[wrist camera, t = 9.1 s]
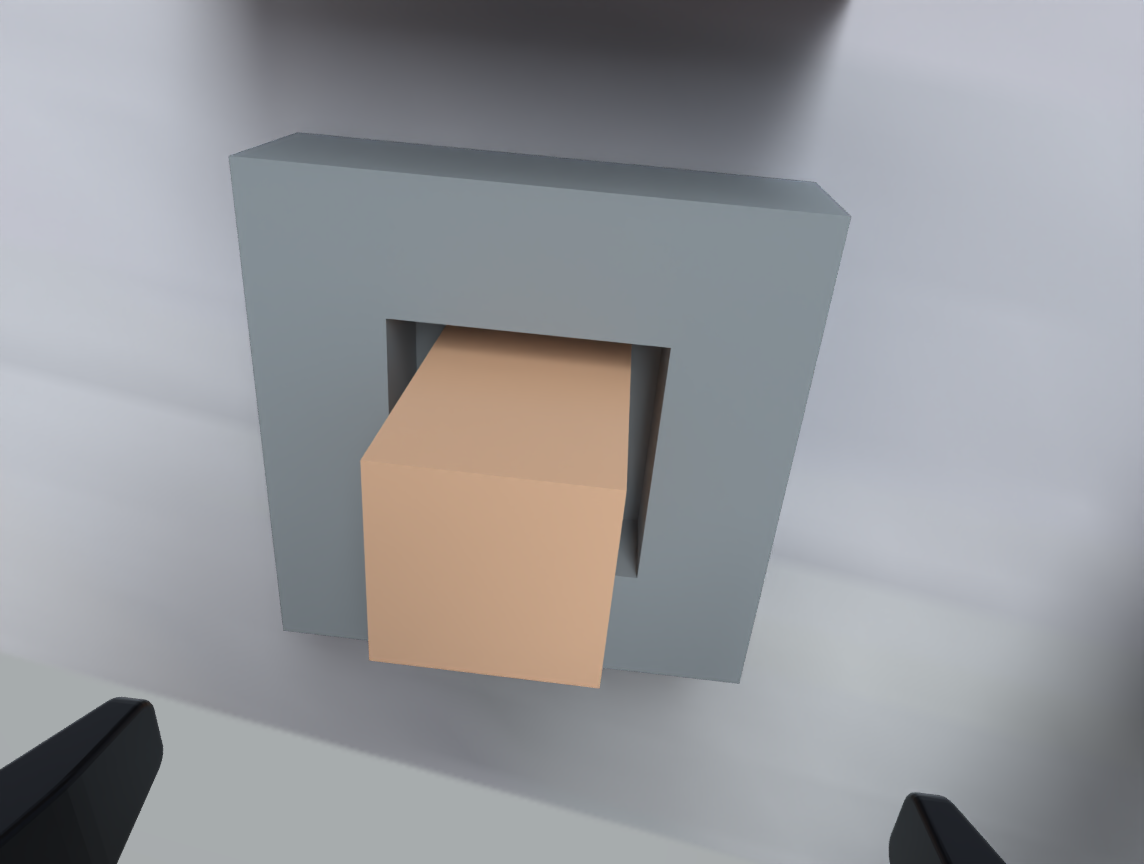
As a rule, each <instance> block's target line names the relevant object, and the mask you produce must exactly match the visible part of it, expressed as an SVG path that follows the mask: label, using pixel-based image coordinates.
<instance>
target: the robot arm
mask: <svg viewBox="0 0 1144 864" xmlns="http://www.w3.org/2000/svg"><path fill="white" fill-rule="evenodd" d="M162 756H163V744H162V740H161V736H160V731H159V727H158V723H157V719H156V715H155V710H154V707H153V705H152V704H151V703H150V702H149V701H147V700H144V699H135V698H127V697H116V698H113V699H111V700H109V701H107V702H105V703H104V704H102V705H101V706H99V707H97V708H96V709H94V710H93V711H91V712H90V713H88V714H86V715H85V716H83V717H82V718H80V719H79V720H77V721H75V722H74V723H72V724H71V725H69V726H68V727H66V728H64V729H63V730H61V731H60V732H58V733H57V734H55V735H53V736H52V737H50V738H49V739H48V740H46V741H44V742H42V743H41V744H39V745H38V746H36V747H35V748H33V749H32V750H30V751H28V752H27V753H25V754H24V755H22V756H20V757H19V758H17V759H16V760H14V761H13V762H11V763H10V764H8V765H6V766H5V767H3V768H2V769H0V864H117V862H118V860H119V858H120V855H121V853H122V851H123V849H124V847H125V844H126V842H127V840H128V838H129V835H130V833H131V831H132V828H133V826H134V824H135V822H136V820H137V817H138V815H139V813H140V811H141V808H142V806H143V804H144V802H145V799H146V797H147V795H148V793H149V790H150V788H151V786H152V784H153V781H154V779H155V777H156V775H157V772H158V770H159V768H160V764H161V761H162ZM889 860H890V864H1006V863H1005V862H1004V861H1003V859H1002V858H1001V857H1000V856H999V855H998V854H997V853H996V852H995V850H994V849H993V848H992V847H991V846H990V845H989V844H988V842H987V841H986V840H985V839H984V838H983V837H982V836H981V835H980V833H979V832H978V831H977V830H976V829H975V828H974V827H973V825H972V824H971V823H970V822H969V821H968V820H967V819H966V818H965V816H964V815H963V814H962V813H961V812H960V811H959V810H958V808H957V807H956V806H955V805H954V804H953V803H952V802H951V801H950V800H948V799H947V798H945V797H944V796H940V795H933V794H924V793H916V792H915V793H910V794H909V795H908V796H907V797H906V799H905V800H904V803H903V805H902V808H901V810H900V813H899V816H898V818H897V821H896V823H895V826H894V828H893V831H892V833H891V836H890V841H889Z"/></svg>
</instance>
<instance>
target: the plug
mask: <svg viewBox="0 0 1144 864" xmlns="http://www.w3.org/2000/svg"><path fill="white" fill-rule="evenodd" d="M631 348H632V344H628V343H619V342H609V341H599V340H589V339H580V338H570V337H560V336H551V335H541V334H531V333H522V332H512V331H502V330H493V329H483V328H473V327H464V326H454V325H446V326H445V328H444V329H443V331H442V332H441V334H440V336H439V337H438V339H437V340H436V342H435V343H434V345H433V347H432V348H431V350H430V351H429V353H428V354H427V356H426V358H425V359H424V361H423V362H422V364H421V365H420V367H419V369H418V370H417V372H416V373H415V375H414V377H413V378H412V380H411V381H410V383H409V384H408V386H407V388H406V389H405V391H404V392H403V394H402V395H401V397H400V399H399V400H398V402H397V403H396V405H395V406H394V408H393V410H392V411H391V413H390V414H389V416H388V417H387V419H386V421H385V422H384V424H383V425H382V427H381V428H380V430H379V432H378V433H377V435H376V436H375V438H374V440H373V441H372V443H371V444H370V446H369V447H368V449H367V451H366V452H365V454H364V455H363V457H362V458H361V460H360V464H361V487H362V509H363V532H364V554H365V577H366V599H367V621H368V644H369V660H370V661H378V662H386V663H394V664H403V665H411V666H419V667H427V668H435V669H444V670H452V671H460V672H468V673H477V674H485V675H493V676H501V677H510V678H518V679H526V680H534V681H542V682H551V683H559V684H567V685H575V686H584V687H592V688H600V681H601V674H602V667H603V659H604V652H605V645H606V637H607V630H608V623H609V616H610V608H611V601H612V594H613V586H614V579H615V572H616V565H617V557H618V550H619V543H620V535H621V528H622V521H623V514H624V506H625V499H626V492H627V466H628V436H629V407H630V378H631Z"/></svg>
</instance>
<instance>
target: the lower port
mask: <svg viewBox="0 0 1144 864" xmlns="http://www.w3.org/2000/svg"><path fill="white" fill-rule="evenodd" d="M229 164H230V172H231V181H232V190H233V198H234V207H235V216H236V224H237V233H238V242H239V250H240V259H241V268H242V276H243V285H244V294H245V302H246V311H247V320H248V328H249V337H250V346H251V354H252V363H253V372H254V380H255V389H256V398H257V406H258V415H259V424H260V432H261V441H262V450H263V458H264V467H265V476H266V484H267V493H268V502H269V510H270V519H271V528H272V536H273V545H274V554H275V562H276V571H277V579H278V588H279V597H280V605H281V614H282V623H283V631H291V632H300V633H308V634H317V635H325V636H334V637H343V638H351V639H360V640H368V621H367V599H366V577H365V554H364V532H363V509H362V487H361V464H360V460H361V458H362V457H363V455H364V454H365V452H366V451H367V449H368V447H369V446H370V444H371V443H372V441H373V440H374V438H375V436H376V435H377V433H378V432H379V430H380V428H381V427H382V425H383V424H384V422H385V421H386V419H387V417H388V416H389V414H390V413H391V411H392V410H393V408H394V406H395V405H396V403H397V402H398V400H399V399H400V397H401V395H402V394H403V392H404V391H405V389H406V388H407V386H408V384H409V383H410V381H411V380H412V378H413V377H414V375H415V373H416V372H417V370H418V369H419V367H420V365H421V364H422V362H423V361H424V359H425V358H426V356H427V354H428V353H429V351H430V350H431V348H432V347H433V345H434V343H435V342H436V340H437V339H438V337H439V336H440V334H441V332H442V331H443V329H444V328H445V326H446V325H454V326H464V327H473V328H483V329H493V330H502V331H512V332H522V333H531V334H541V335H551V336H560V337H570V338H580V339H589V340H599V341H609V342H619V343H628V344H632V348H631V378H630V407H629V436H628V466H627V492H626V499H625V506H624V514H623V521H622V528H621V535H620V543H619V550H618V557H617V565H616V572H615V579H614V586H613V594H612V601H611V608H610V616H609V623H608V630H607V637H606V645H605V652H604V659H603V667H602V668H609V669H617V670H626V671H634V672H643V673H651V674H660V675H669V676H677V677H686V678H694V679H703V680H711V681H720V682H729V683H737V684H739V683H740V678H741V674H742V670H743V666H744V662H745V658H746V653H747V649H748V645H749V641H750V637H751V633H752V628H753V624H754V620H755V616H756V612H757V608H758V603H759V599H760V595H761V591H762V587H763V583H764V578H765V574H766V570H767V566H768V562H769V558H770V553H771V549H772V545H773V541H774V537H775V532H776V528H777V524H778V520H779V516H780V512H781V507H782V503H783V499H784V495H785V491H786V487H787V482H788V478H789V474H790V470H791V466H792V462H793V457H794V453H795V449H796V445H797V441H798V437H799V432H800V428H801V424H802V420H803V416H804V412H805V407H806V403H807V399H808V395H809V391H810V387H811V382H812V378H813V374H814V370H815V366H816V361H817V357H818V353H819V349H820V345H821V341H822V336H823V332H824V328H825V324H826V320H827V316H828V311H829V307H830V303H831V299H832V295H833V291H834V286H835V282H836V278H837V274H838V270H839V266H840V261H841V257H842V253H843V249H844V245H845V241H846V236H847V232H848V228H849V224H850V220H851V216H850V215H849V214H848V213H847V212H846V211H845V210H844V209H843V208H842V207H841V206H840V205H839V204H838V203H837V202H836V201H835V200H834V199H833V198H832V197H831V196H830V195H828V194H827V193H826V192H825V191H824V190H823V189H822V188H821V187H820V186H819V185H818V184H817V183H816V182H807V181H797V180H787V179H776V178H766V177H755V176H745V175H735V174H724V173H714V172H703V171H693V170H682V169H672V168H662V167H651V166H641V165H630V164H620V163H609V162H599V161H589V160H578V159H568V158H557V157H547V156H537V155H526V154H516V153H505V152H495V151H484V150H474V149H464V148H453V147H443V146H432V145H422V144H411V143H401V142H391V141H380V140H370V139H359V138H349V137H339V136H328V135H318V134H307V133H295V134H292V135H289V136H286V137H283V138H280V139H277V140H274V141H271V142H268V143H265V144H262V145H259V146H256V147H254V148H251V149H248V150H245V151H242V152H239V153H236V154H233V155H230V156H229Z"/></svg>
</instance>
